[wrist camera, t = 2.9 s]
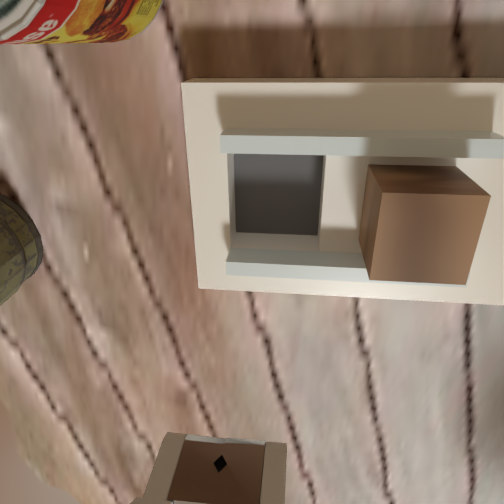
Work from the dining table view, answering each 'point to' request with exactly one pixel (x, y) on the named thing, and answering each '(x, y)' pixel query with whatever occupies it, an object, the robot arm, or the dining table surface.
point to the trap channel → (331, 177)
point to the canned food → (74, 20)
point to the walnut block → (420, 223)
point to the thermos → (17, 248)
